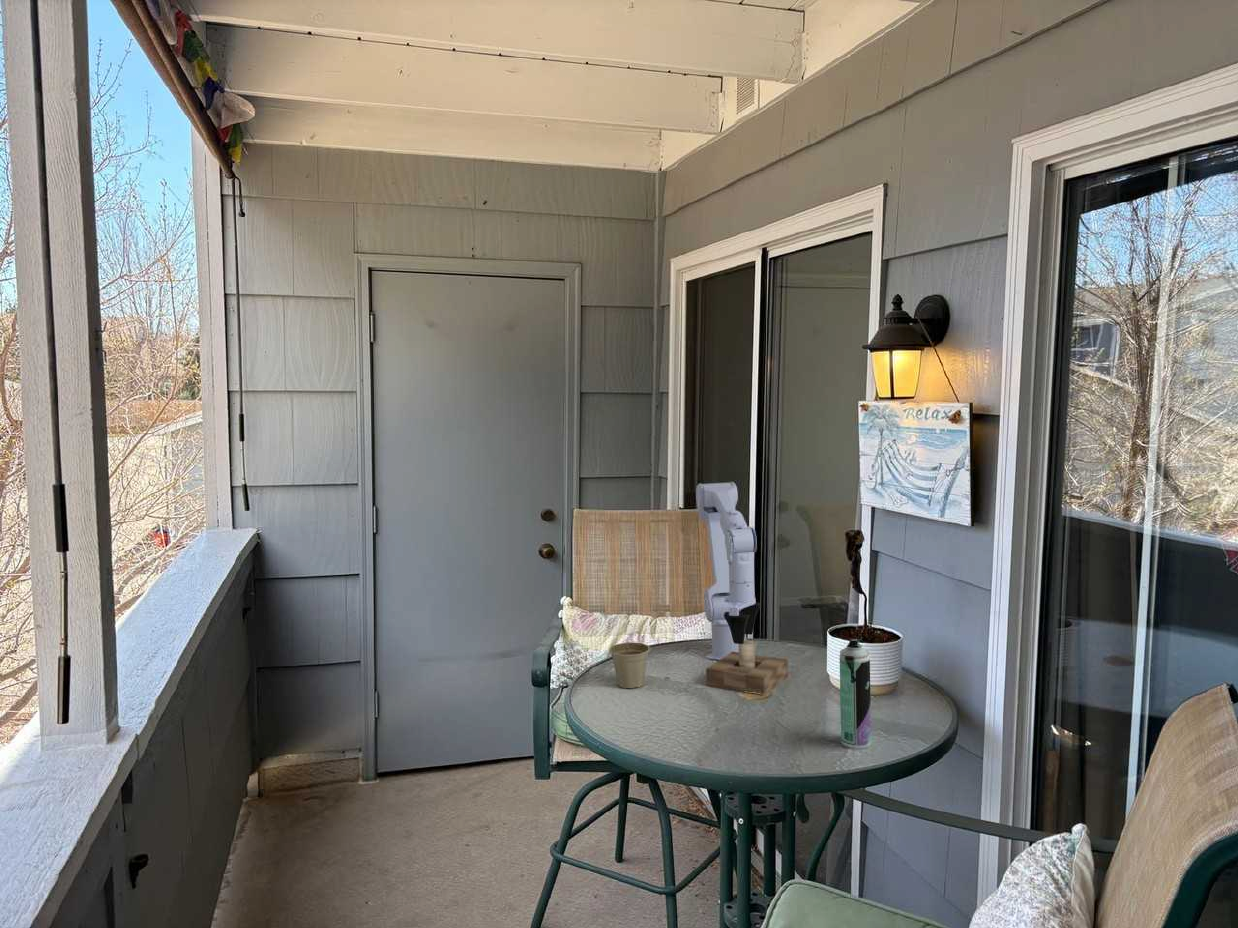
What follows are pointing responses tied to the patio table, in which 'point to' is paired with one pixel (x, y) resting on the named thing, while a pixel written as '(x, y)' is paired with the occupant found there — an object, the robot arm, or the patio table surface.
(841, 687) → the spray can
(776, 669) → the socket block
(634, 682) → the flower pot
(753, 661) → the peg
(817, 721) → the patio table surface
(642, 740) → the patio table surface
